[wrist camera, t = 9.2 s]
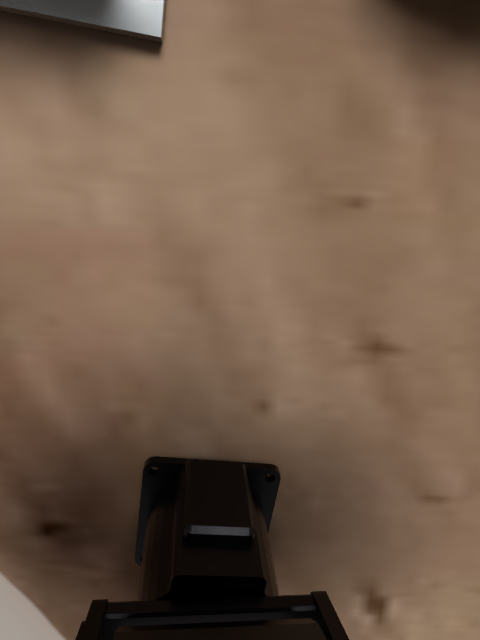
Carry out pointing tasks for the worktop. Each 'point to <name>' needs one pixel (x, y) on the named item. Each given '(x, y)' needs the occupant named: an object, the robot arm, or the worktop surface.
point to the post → (98, 14)
